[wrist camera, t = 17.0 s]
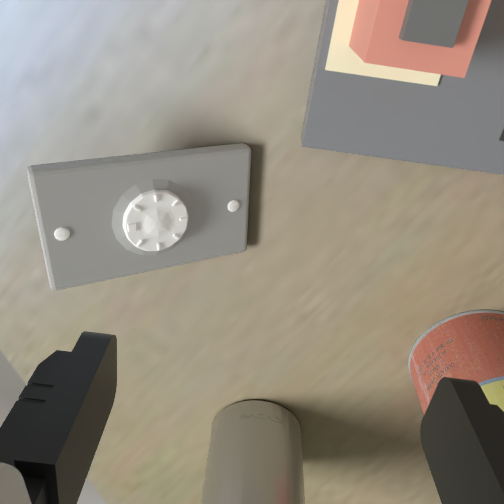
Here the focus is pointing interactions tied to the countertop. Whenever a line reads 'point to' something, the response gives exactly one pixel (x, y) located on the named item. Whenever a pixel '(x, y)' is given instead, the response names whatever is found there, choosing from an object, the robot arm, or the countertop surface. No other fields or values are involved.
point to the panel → (407, 101)
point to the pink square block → (419, 33)
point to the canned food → (461, 354)
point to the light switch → (140, 211)
